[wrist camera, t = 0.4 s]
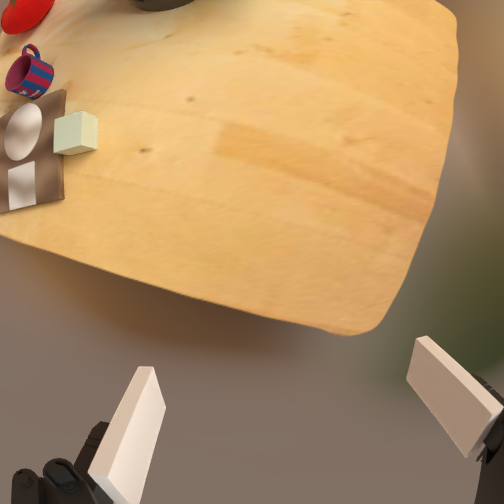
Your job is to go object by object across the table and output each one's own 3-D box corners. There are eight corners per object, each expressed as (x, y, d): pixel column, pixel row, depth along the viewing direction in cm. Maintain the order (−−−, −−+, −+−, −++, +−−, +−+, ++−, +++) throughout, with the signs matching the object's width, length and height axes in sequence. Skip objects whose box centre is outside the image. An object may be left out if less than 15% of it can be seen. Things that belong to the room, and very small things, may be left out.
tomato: (69, 0, 27) (46, -23, 17) (24, 47, 28) (-5, 31, 18) (52, -12, 25) (31, -32, 15) (12, 30, 26) (-14, 16, 16)
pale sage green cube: (72, 125, 33) (54, 119, 29) (98, 117, 34) (82, 110, 29) (71, 155, 34) (53, 152, 30) (97, 149, 35) (81, 145, 30)
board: (0, 121, 31) (-5, 119, 30) (66, 91, 32) (60, 88, 30) (0, 213, 35) (-7, 214, 33) (64, 198, 36) (58, 199, 34)
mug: (25, 103, 31) (2, 96, 25) (34, 57, 29) (14, 46, 23) (51, 92, 32) (28, 82, 25) (60, 45, 30) (40, 31, 23)
